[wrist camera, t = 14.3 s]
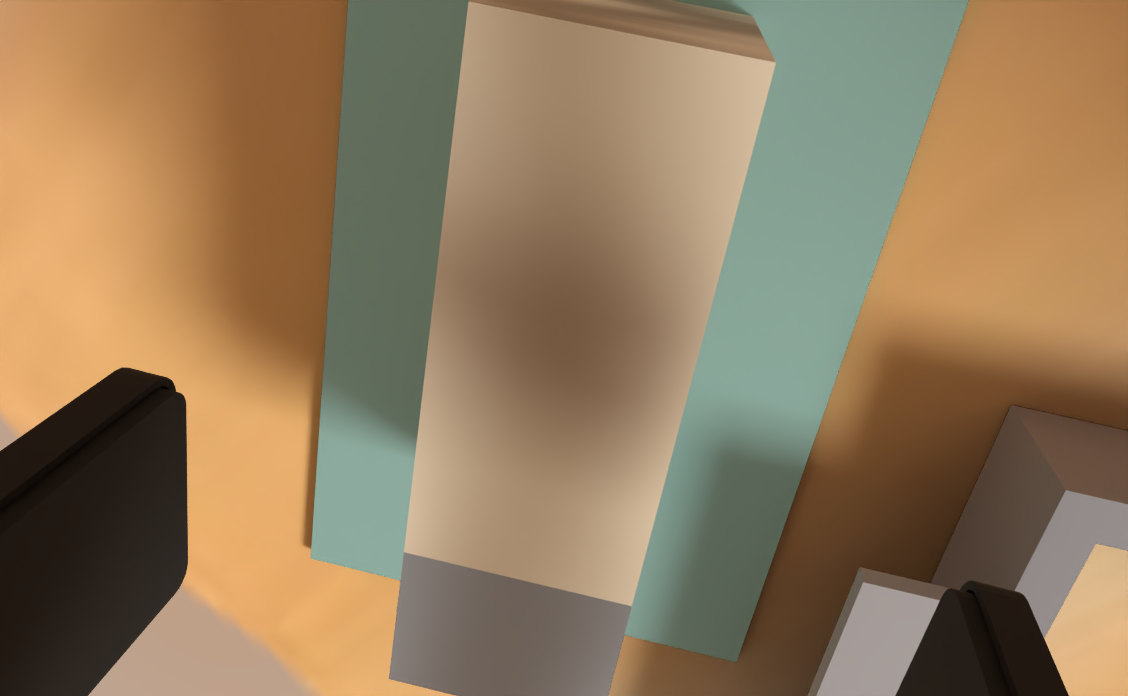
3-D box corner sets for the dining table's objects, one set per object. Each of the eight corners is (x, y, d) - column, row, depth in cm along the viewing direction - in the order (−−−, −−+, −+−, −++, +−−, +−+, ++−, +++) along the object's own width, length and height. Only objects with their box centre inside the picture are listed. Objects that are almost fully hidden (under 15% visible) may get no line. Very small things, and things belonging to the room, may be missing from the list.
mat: (1027, -179, 16) (1032, -182, 16) (736, 654, 25) (736, 662, 24) (374, -301, 17) (368, -306, 16) (314, 552, 25) (310, 558, 25)
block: (753, 15, 18) (776, 62, 11) (629, 511, 23) (598, 730, 17) (553, -23, 18) (468, 1, 12) (476, 475, 23) (388, 678, 17)
